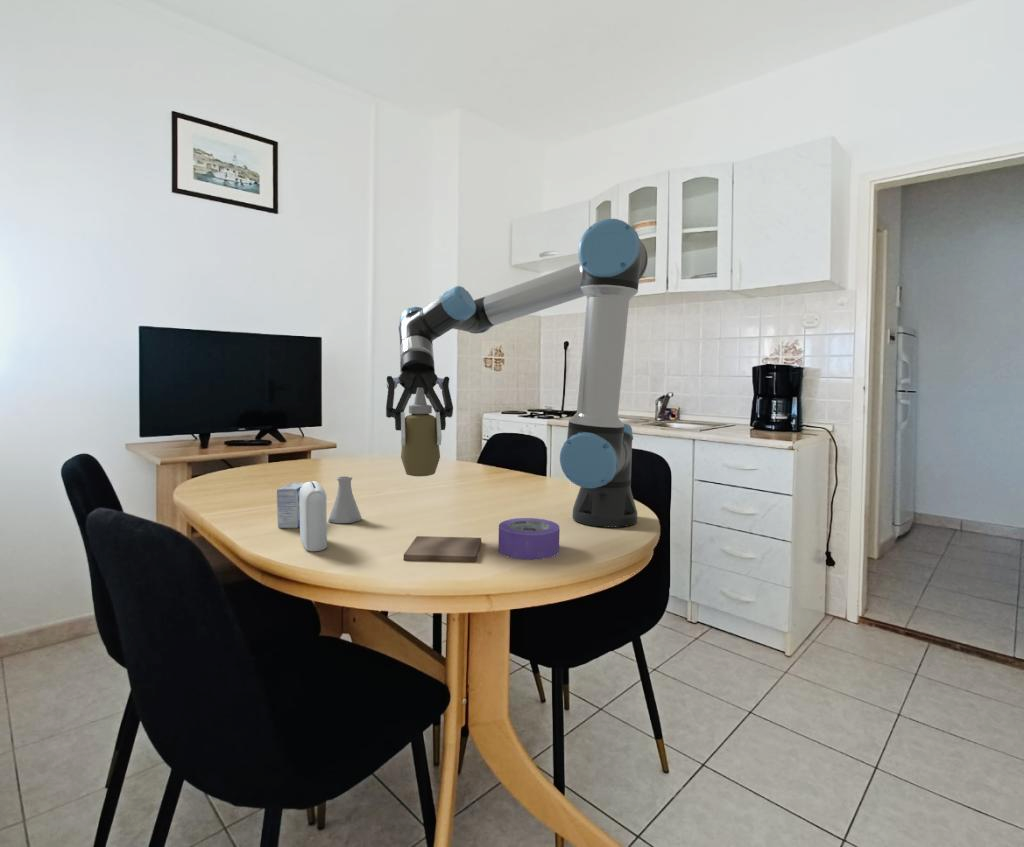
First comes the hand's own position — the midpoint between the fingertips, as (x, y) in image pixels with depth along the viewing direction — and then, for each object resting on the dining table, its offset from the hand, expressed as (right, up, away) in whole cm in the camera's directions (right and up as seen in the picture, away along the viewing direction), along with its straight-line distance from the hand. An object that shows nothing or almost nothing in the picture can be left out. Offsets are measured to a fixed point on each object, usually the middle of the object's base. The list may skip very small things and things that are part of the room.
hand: (421, 440), depth 112 cm
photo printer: (-21, -20, -3) cm, 29 cm away
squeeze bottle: (-1, -7, +4) cm, 8 cm away
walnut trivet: (+5, -21, -6) cm, 22 cm away
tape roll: (+21, -21, -4) cm, 30 cm away
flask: (-20, -19, +16) cm, 32 cm away
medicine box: (-30, -19, +12) cm, 38 cm away
